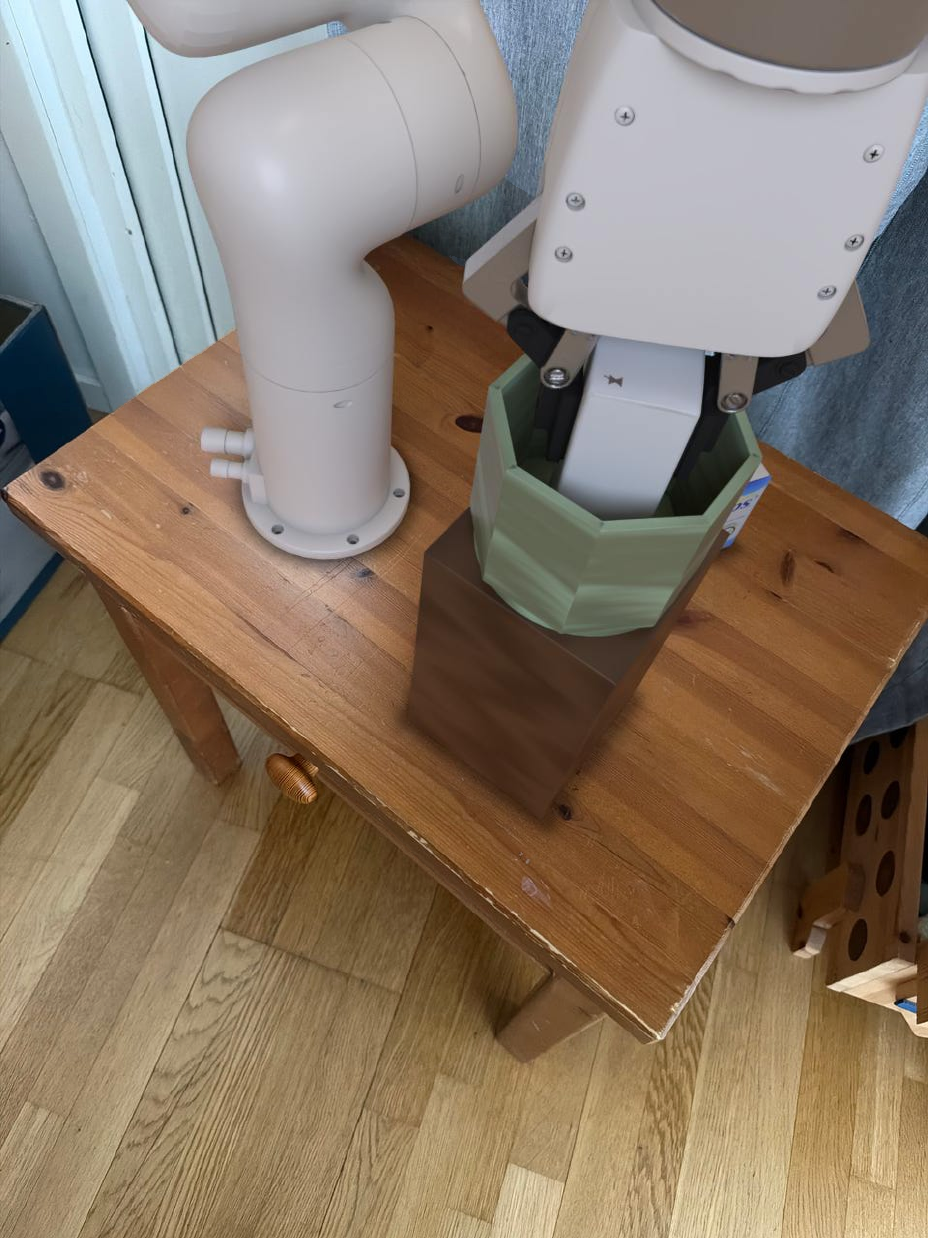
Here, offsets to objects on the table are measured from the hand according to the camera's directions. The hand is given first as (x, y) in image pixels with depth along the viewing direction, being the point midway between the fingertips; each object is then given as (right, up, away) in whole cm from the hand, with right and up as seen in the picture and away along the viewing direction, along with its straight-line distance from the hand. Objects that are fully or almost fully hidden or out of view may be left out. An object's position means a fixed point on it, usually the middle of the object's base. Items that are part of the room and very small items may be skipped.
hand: (617, 441), depth 37 cm
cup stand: (-3, -14, +24) cm, 27 cm away
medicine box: (+10, -1, +32) cm, 34 cm away
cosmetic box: (-1, -3, +6) cm, 7 cm away
